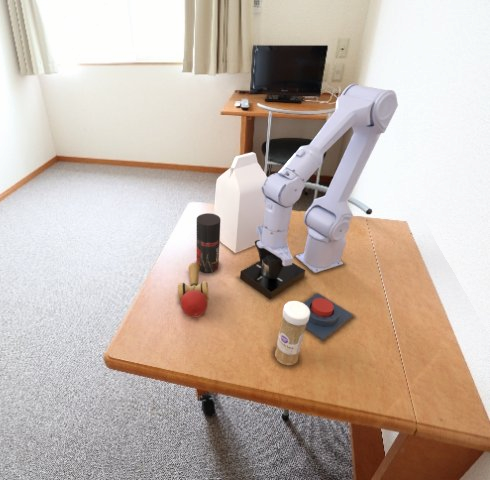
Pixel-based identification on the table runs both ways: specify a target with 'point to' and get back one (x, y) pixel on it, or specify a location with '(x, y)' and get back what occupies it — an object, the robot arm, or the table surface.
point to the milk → (240, 202)
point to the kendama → (193, 293)
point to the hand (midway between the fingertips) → (269, 271)
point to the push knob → (322, 307)
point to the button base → (325, 320)
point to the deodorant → (208, 242)
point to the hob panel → (274, 285)
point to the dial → (265, 268)
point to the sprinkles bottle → (291, 332)
